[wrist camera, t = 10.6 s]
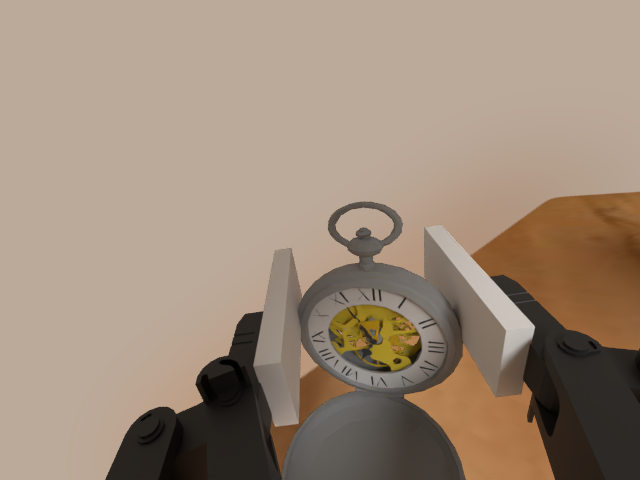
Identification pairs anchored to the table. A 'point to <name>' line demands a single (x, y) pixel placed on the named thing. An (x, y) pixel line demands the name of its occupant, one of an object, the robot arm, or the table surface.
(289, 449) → the pocket watch
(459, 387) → the table surface
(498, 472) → the table surface
